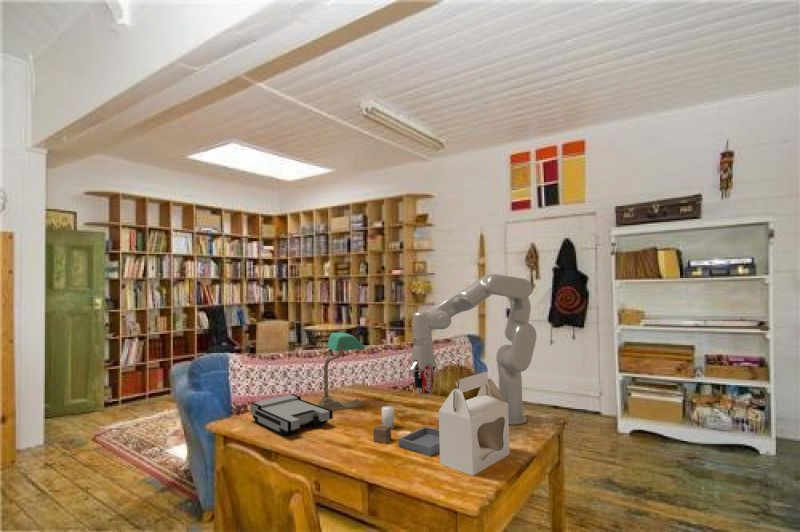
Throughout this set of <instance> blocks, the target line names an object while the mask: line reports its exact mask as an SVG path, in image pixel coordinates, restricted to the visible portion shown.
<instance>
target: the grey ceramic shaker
mask: <svg viewBox="0 0 800 532" xmlns="http://www.w3.org/2000/svg"><path fill="white" fill-rule="evenodd" d="M381 425H386V426H391V430H393V429H395V407H394V406H391V405H385V406H382V407H381Z"/></svg>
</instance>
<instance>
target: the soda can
mask: <svg viewBox="0 0 800 532" xmlns="http://www.w3.org/2000/svg"><path fill="white" fill-rule="evenodd" d="M417 370H419V368H417ZM417 373H418V374H419V372H417ZM421 378H422V388H417V387H415V390H416V393H417V394H418V395H420V396H427V395H431V394H432V393H433V392H434V383H433V380H434V374H433V372H432V367H431V364H430V365H426V367H425V368H424V370H423V371H422V374H421Z"/></svg>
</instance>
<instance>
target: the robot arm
mask: <svg viewBox="0 0 800 532" xmlns="http://www.w3.org/2000/svg"><path fill="white" fill-rule="evenodd" d="M532 293H533V286H532V283H531V282H530V281H529V280H528V279H526V278H522V277H516V276H510V275H509V276H508V275H503V274H497V273H494V274H493V273H488V274H484V275H483V276H482V277H480V278H478V279H477V280H476V281H474V282H473V283H472V284H470V285H469V286H467V287H466V288H465V289H463V290H461V291H460V292H458V293H456V294H454V295H453V296H452V297H449V298H448V299H447V300H445V301H443V302H442V303H440V304H439V305H437V306H436V307H434V308H433V309H432V310H431V311H430V312H429V311H416V312H414V313H413V314H412V329H413V333H412V334H413V346H412V349H411V367H410V369H409V370H410V372H411V374H412V376H413V378H414V387H415V388H416V387H417V388H422V378H421V374H422V371H423V370H424V368H425V367H426V365H430V364H431V367H432V372H433V375H434V374H435V370H436V366H437V362H436V361H435V354H434V353H435V352H434V347H433V332H432V331H433V330H446V329H448V328H449V327H450V326H451V324H452V317H454V316H456V315H457V314H460V313H463V312H467V311H470V310H472V309H474V308H476V307H477V306H478V305H480V304H482V302H484V301H486V299H488V298H489V297H491V296H492V295H495V296H501V297H504V298H505V297H507V299H508V301H509V304H510V305H509V306H510V308H509V312H508V313H509V314H508V317H507V321H506V326H505V329H504V335H505V337H506V338H505V339H506V340H508V341H509V342H511V344H504V345H502V346H500V347H499V348H498V349H497V352H496V356H495V358H496V365H497V371H498V373H497V375H498V390H499V391H500V393H501V394H502V396H503V397H504V399H505V400H506V402H507V403H508V420H509V425H512V426H513V425H515V426H517V425H523V424H525V423H527V421H528V420H527V419H528V418H527V417H526V416H525V415H524V414H523V413H524V411H526V407H525V406H523V380H522V379H523V378H522V377H523V376H522V372H525V371H526V370H527V369H528V368H529V366H530V364H531V362H532V358H533V354H534V351H535V347H536V342H537V331H536V328H535V327H534V325H532V324H531V323H529V321H530V316H531V309H532V308H531V301H530V298H529V297H530V296H531V295H532ZM417 368H419V370H417ZM417 372H419V374H418V373H417ZM433 384H434V379H433Z"/></svg>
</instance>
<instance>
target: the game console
mask: <svg viewBox="0 0 800 532" xmlns="http://www.w3.org/2000/svg"><path fill="white" fill-rule="evenodd" d="M318 405H319V404H315V403H313V402H310V401H307V400H305V399H302V398H301V396H300V395H298V394H294V393H291V394H287V395H283V396H278V397H273V398H272V397H271V398H269V399H263V400H260V401H254V402H251V403H250V414H251V415H252V419H254V423H255V424H257V425H259V426H261V427H263V428H265V429H267V430H269V431H271V432H273V433H275V434H277V435H279V436H282V437H286V436H291V435H293V434H296V433H298V432H299V431H300V430H301V426H303V425H305V426H307V427H309V428H310V429H314V428H317V427H320V426H324V425H325V424H326V423H328V421H329V420H332V419H334V417H333V412H334V411H333V410H330V409H327V408H324V407H321V406H318Z"/></svg>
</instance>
